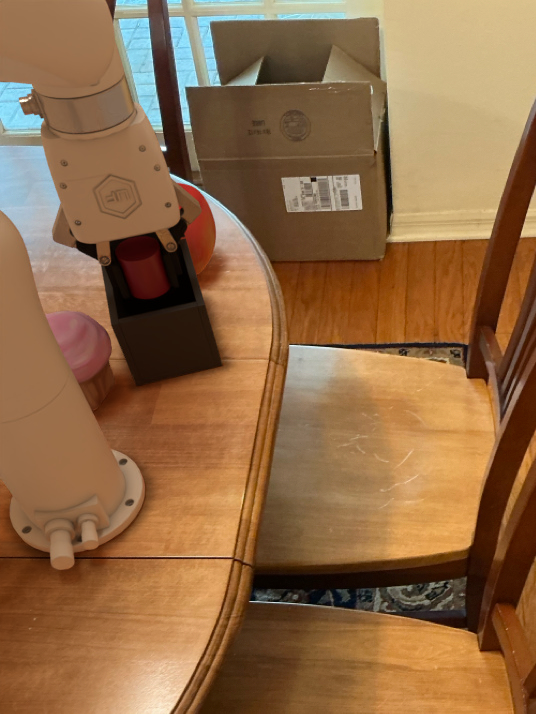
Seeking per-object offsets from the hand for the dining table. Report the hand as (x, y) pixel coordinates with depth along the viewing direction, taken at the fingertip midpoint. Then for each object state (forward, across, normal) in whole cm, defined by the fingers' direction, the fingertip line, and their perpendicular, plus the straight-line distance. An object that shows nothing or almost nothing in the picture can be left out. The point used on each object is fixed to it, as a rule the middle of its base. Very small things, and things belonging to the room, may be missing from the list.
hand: (149, 284), depth 80 cm
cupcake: (+10, -10, -4) cm, 14 cm away
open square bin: (+9, 0, +2) cm, 9 cm away
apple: (+9, +4, +15) cm, 18 cm away
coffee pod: (0, 0, 0) cm, 0 cm away
